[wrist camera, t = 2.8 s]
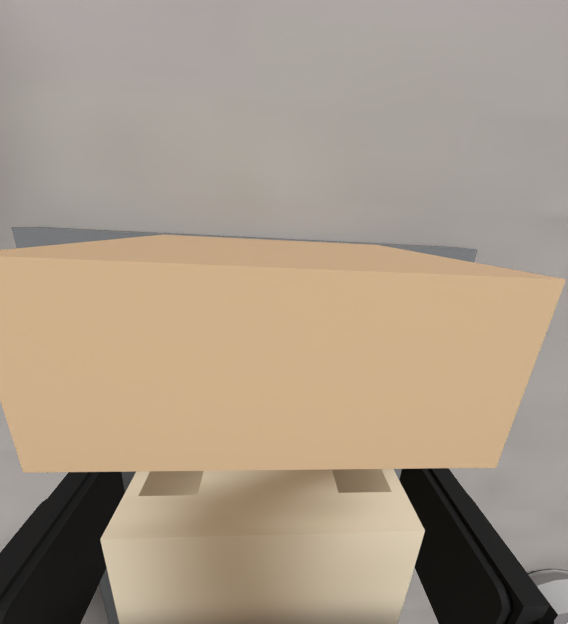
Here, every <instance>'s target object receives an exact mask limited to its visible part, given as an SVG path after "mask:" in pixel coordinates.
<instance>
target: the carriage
mask: <svg viewBox="0 0 568 624" xmlns="http://www.w3.org/2000/svg"><path fill="white" fill-rule="evenodd" d="M424 533H425V530H424V528H423V526H422V524H421V522H420V520H419V518H418V516H417V514H416V512H415V510H414V508H413V506H412V504H411V502H410V500H409V498H408V496H407V494H406V493H405V491H404V489H403V487H402V485H401V483H400V481H399V479H398V477H397V475H396V473H395V471H394V469H325V470H229V471H136V473H135V475H134V477H133V479H132V481H131V483H130V484H129V486H128V488H127V490H126V492H125V494H124V496H123V498H122V499H121V501H120V503H119V505H118V507H117V509H116V511H115V513H114V514H113V516H112V518H111V520H110V522H109V524H108V526H107V528H106V529H105V531H104V533H103V535H102V537H101V539H100V541H101V545H102V550H103V554H104V558H105V563H106V567H107V572H108V576H109V580H110V585H111V589H112V594H113V598H114V602H115V607H116V611H117V616H118V620H119V624H398V621H399V617H400V614H401V611H402V607H403V604H404V600H405V597H406V594H407V590H408V587H409V584H410V580H411V577H412V573H413V570H414V567H415V563H416V560H417V556H418V553H419V550H420V546H421V543H422V539H423V536H424Z"/></svg>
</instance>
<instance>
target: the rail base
mask: <svg viewBox="0 0 568 624" xmlns="http://www.w3.org/2000/svg"><path fill="white" fill-rule="evenodd" d="M12 231H13V235H14V239H15V243H16V247H17V248H16V249H6V250H0V401H1V404H2V407H3V410H4V413H5V417H6V420H7V423H8V426H9V429H10V432H11V435H12V439H13V442H14V445H15V448H16V451H17V454H18V457H19V461H20V464H21V467H22V470H23V473H37V472H121V473H122V479H123V485H124V490H125V492H126V490H127V488H128V486H129V484H130V483H131V481H132V479H133V477H134V475H135V473H136V471H229V470H325V469H394V471H395V473H396V475H397V477H398V479H400V475H401V471H402V469H421V468H496V467H497V464H498V461H499V459H500V456H501V453H502V450H503V448H504V445H505V442H506V440H507V437H508V434H509V432H510V429H511V426H512V424H513V421H514V418H515V416H516V413H517V410H518V407H519V405H520V402H521V399H522V397H523V394H524V391H525V389H526V386H527V383H528V381H529V378H530V375H531V372H532V370H533V367H534V364H535V362H536V359H537V356H538V354H539V351H540V348H541V346H542V343H543V340H544V337H545V335H546V332H547V329H548V327H549V324H550V321H551V319H552V316H553V313H554V311H555V308H556V305H557V302H558V300H559V297H560V294H561V292H562V289H563V286H564V284H565V281H566V279H561V278H555V277H550V276H545V275H539V274H534V273H528V272H523V271H517V270H512V269H506V268H501V267H496V266H490V265H485V264H479V263H474V261H475V257H476V253H477V250H476V249H468V248H459V247H441V246H420V245H399V244H378V243H358V242H337V241H316V240H296V239H275V238H254V237H233V236H213V235H192V234H171V233H150V232H130V231H109V230H88V229H68V228H47V227H12ZM99 584H100V588H101V592H102V596H103V600H104V604H105V608H106V612H107V616H108V620H109V624H119V620H118V616H117V611H116V607H115V602H114V598H113V594H112V589H111V585H110V580H109V576H108V572H107V568H106V570H105V572H104V574H103V576H102V578H101V580H100V583H99Z"/></svg>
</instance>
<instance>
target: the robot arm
mask: <svg viewBox="0 0 568 624" xmlns="http://www.w3.org/2000/svg"><path fill="white" fill-rule="evenodd" d="M399 481H400V483H401V485H402V487H403V489H404V491H405V493H406V494H407V496H408V498H409V500H410V502H411V504H412V506H413V508H414V510H415V512H416V514H417V516H418V518H419V520H420V522H421V524H422V526H423V528H424V530H425V533H424V536H423V539H422V543H421V546H420V550H419V553H418V556H417V560H416V563H415V569H416V571H417V573H418V576H419V578H420V580H421V583H422V585H423V587H424V590H425V592H426V594H427V597H428V599H429V601H430V604H431V606H432V608H433V611H434V613H435V615H436V618H437V620H438V622H439V624H568V613H563V614H559V615H558V614H557V613H556V611H555V610H554V609H553V607H552V606H551V605H550V603H549V602H548V601H547V599H546V598H545V596H544V595H543V594H542V592H541V591H540V590H539V588H538V587H537V586H536V584H535V583H534V582H533V580H532V579H531V578H530V576H529V575H528V574H527V572H526V571H525V570H524V568H523V567H522V566H521V564H520V563H519V562H518V560H517V559H516V557H515V556H514V555H513V553H512V552H511V551H510V549H509V548H508V547H507V545H506V544H505V543H504V541H503V540H502V539H501V537H500V536H499V535H498V533H497V532H496V531H495V529H494V528H493V527H492V525H491V524H490V523H489V521H488V520H487V518H486V517H485V516H484V514H483V513H482V512H481V510H480V509H479V508H478V506H477V505H476V504H475V502H474V501H473V500H472V499H471V497H470V496H469V495H468V494H467V493H466V492H465V490H464V489H463V487H462V486H461V485H460V483H459V482H458V481H457V479H456V478H455V477H454V475H453V474H452V473H451V471H450V470H449V469H448V468H421V469H402V471H401V475H400V479H399ZM124 494H125V490H124V485H123V479H122V473H121V472H69V473H68V474H67V475H66V476H65V478H64V479H63V480H62V481H61V483H60V484H59V485H58V486H57V488H56V489H55V490H54V491H53V493H52V494H51V495H50V496H49V498H48V499H46V500H45V501H43V502H42V503H41V504H40V505H39V506H38V507H37V509H36V510H35V511H34V512H33V513H32V515H31V516H30V517H29V518H28V520H27V521H26V522H25V523H24V524H23V526H22V527H21V528H20V529H19V531H18V532H17V533H16V534H15V536H14V537H13V538H12V539H11V540H10V542H9V543H8V544H7V545H6V547H5V548H4V549H3V550H2V551H1V553H0V624H80V623H81V621H82V619H83V617H84V615H85V612H86V610H87V608H88V606H89V604H90V602H91V600H92V598H93V595H94V593H95V591H96V589H97V587H98V585H99V583H100V580H101V578H102V576H103V574H104V572H105V570H106V568H107V567H106V563H105V558H104V554H103V550H102V545H101V541H100V539H101V537H102V535H103V533H104V531H105V529H106V528H107V526H108V524H109V522H110V520H111V518H112V516H113V514H114V513H115V511H116V509H117V507H118V505H119V503H120V501H121V499H122V498H123V496H124Z"/></svg>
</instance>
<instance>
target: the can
mask: <svg viewBox="0 0 568 624" xmlns="http://www.w3.org/2000/svg"><path fill="white" fill-rule="evenodd" d="M528 575H529V576H530V578H531V579H532V580H533V582H534V583H535V584H536V586H537V587H538V588H539V590H540V591H541V592H542V594H543V595H544V596H545V598H546V599H547V601H548V602H549V603H550V605H551V606H552V607H553V609H554V610H555V611H556V613H557V614H558V615H559V614H563V613H568V571H564V570H556V569H552V570H542V571H537V572H534V573H531V574H528Z"/></svg>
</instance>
